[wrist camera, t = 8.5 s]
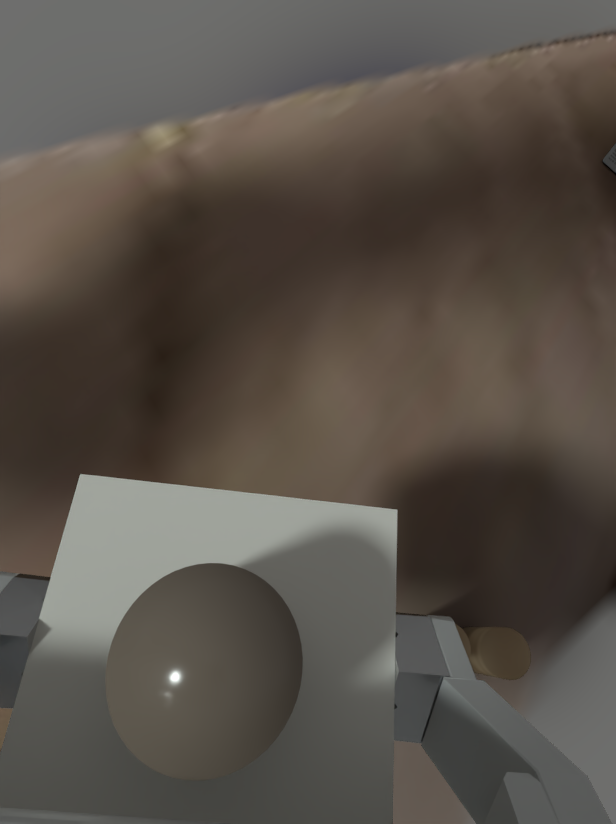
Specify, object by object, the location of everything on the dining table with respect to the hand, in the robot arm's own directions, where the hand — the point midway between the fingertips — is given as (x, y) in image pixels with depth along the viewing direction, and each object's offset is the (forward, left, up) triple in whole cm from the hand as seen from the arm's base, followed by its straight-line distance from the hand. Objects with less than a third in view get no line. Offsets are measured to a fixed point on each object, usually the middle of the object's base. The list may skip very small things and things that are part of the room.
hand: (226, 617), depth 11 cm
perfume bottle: (0, -1, -4) cm, 5 cm away
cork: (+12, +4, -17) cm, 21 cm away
